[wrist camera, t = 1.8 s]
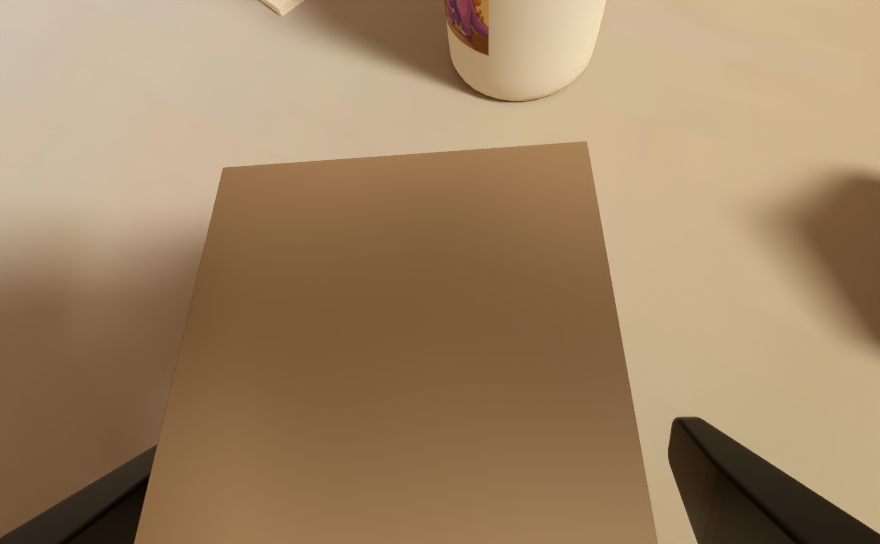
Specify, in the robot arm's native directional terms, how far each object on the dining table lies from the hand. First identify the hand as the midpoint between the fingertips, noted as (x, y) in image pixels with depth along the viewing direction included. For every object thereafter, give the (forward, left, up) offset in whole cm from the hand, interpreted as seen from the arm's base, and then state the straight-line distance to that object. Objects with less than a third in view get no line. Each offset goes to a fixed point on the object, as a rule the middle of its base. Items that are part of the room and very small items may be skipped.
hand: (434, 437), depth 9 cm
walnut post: (+1, 0, -9) cm, 9 cm away
